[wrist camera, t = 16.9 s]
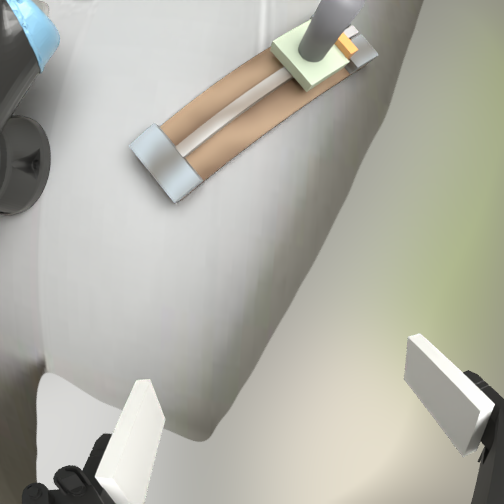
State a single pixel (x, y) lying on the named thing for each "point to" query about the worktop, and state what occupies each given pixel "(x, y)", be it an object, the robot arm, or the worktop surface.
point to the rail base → (247, 120)
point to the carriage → (317, 43)
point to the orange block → (347, 42)
